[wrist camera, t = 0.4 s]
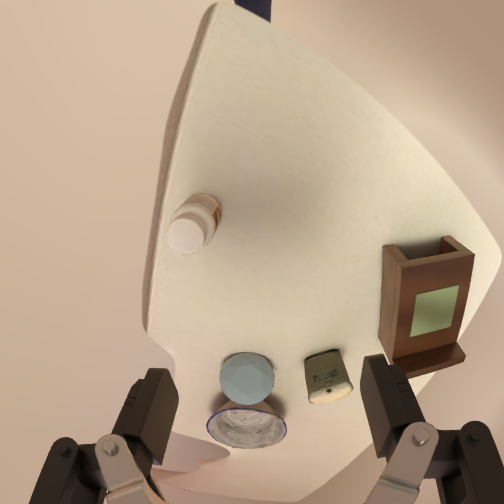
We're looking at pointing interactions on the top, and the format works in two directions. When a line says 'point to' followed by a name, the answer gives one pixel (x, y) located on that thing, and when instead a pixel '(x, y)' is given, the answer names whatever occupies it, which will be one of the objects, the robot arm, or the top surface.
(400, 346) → the shelf
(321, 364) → the beige rounded block
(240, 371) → the gemstone
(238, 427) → the bowl
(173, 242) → the pill bottle
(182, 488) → the top surface
